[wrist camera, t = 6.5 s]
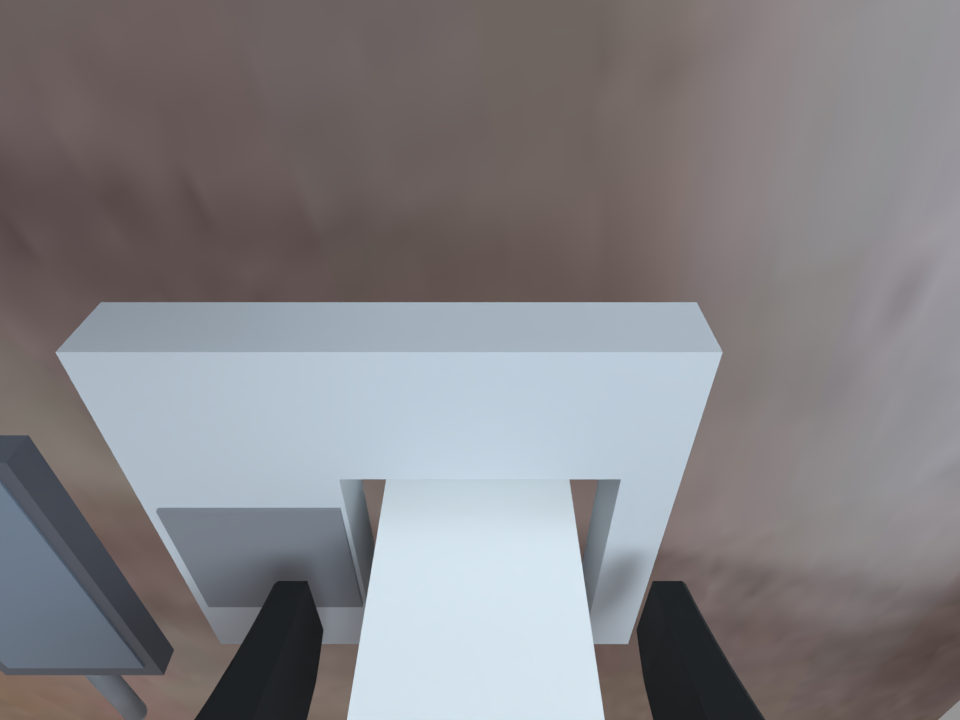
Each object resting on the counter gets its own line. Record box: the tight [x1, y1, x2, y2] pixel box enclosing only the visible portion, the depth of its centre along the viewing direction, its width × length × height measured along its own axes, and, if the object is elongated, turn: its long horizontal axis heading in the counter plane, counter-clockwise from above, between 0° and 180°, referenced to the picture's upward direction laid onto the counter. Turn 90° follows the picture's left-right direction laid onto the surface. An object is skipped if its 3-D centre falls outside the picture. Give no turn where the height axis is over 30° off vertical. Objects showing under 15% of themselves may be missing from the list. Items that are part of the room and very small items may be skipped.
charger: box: [347, 479, 605, 720], centre depth 12 cm, size 4×4×7 cm
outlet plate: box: [56, 302, 723, 644], centre depth 13 cm, size 11×10×2 cm
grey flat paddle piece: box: [0, 435, 174, 720], centre depth 17 cm, size 5×14×1 cm, turn 0°
